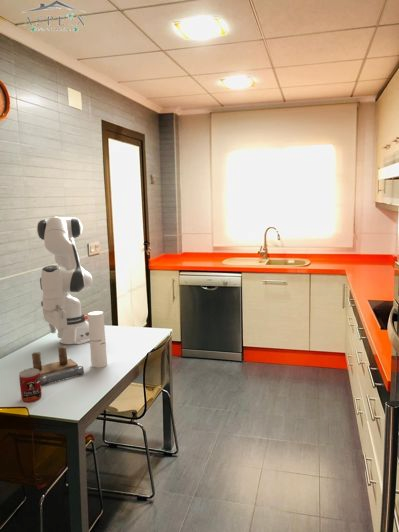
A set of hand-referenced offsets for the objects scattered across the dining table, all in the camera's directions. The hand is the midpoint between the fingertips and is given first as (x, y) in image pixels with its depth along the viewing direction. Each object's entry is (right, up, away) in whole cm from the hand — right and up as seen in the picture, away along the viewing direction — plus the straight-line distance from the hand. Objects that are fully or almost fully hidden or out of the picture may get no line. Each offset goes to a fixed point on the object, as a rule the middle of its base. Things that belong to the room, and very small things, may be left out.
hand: (56, 335), depth 195 cm
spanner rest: (-7, -18, +14) cm, 24 cm away
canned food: (-5, -23, -16) cm, 28 cm away
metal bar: (+1, -20, +3) cm, 20 cm away
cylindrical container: (+14, -17, +19) cm, 29 cm away
